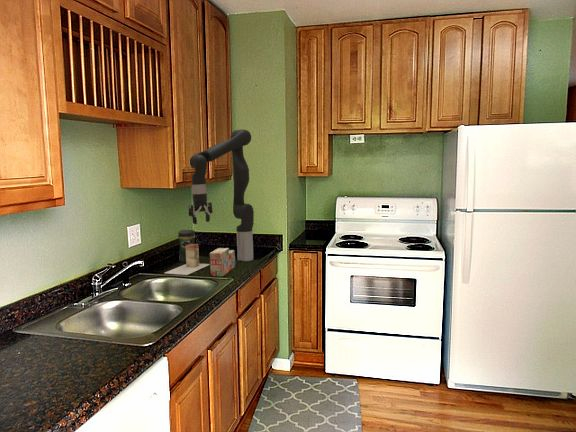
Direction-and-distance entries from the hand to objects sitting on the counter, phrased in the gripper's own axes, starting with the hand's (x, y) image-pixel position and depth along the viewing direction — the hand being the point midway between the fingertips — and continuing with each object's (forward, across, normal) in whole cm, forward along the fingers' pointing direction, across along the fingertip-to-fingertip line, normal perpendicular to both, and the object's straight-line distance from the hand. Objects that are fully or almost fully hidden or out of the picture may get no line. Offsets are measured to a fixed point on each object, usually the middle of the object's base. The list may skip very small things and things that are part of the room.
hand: (201, 222), depth 234 cm
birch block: (+24, +3, -6) cm, 25 cm away
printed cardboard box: (+26, -2, +14) cm, 29 cm away
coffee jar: (+25, -6, -22) cm, 34 cm away
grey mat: (+25, +8, -4) cm, 26 cm away
